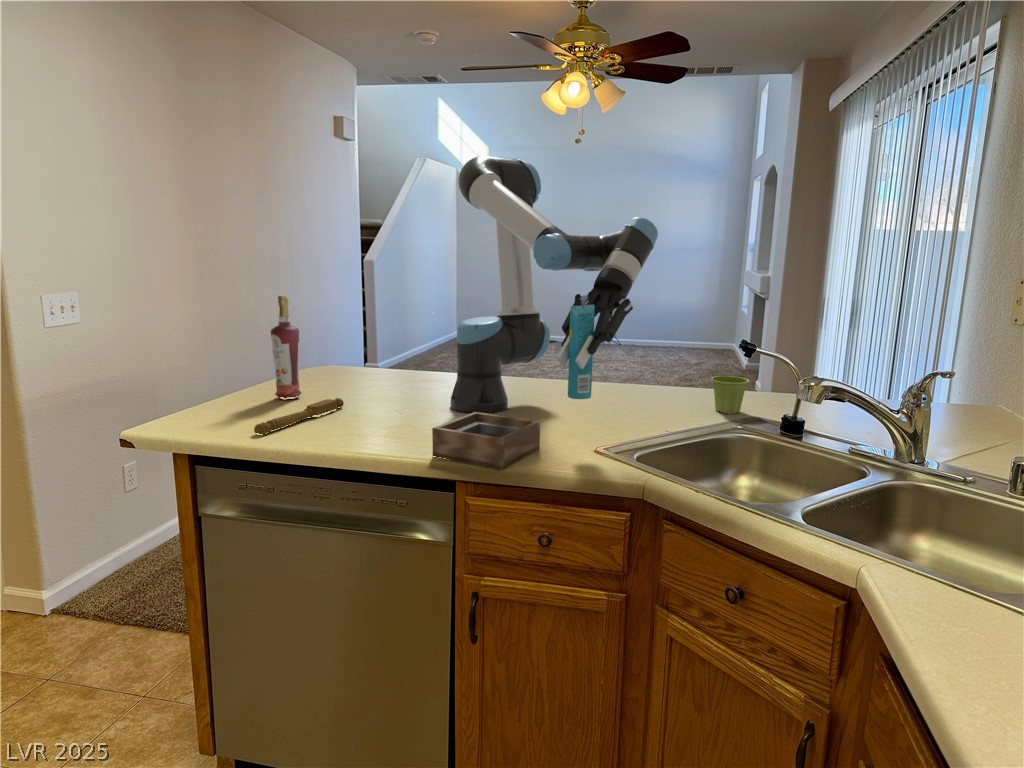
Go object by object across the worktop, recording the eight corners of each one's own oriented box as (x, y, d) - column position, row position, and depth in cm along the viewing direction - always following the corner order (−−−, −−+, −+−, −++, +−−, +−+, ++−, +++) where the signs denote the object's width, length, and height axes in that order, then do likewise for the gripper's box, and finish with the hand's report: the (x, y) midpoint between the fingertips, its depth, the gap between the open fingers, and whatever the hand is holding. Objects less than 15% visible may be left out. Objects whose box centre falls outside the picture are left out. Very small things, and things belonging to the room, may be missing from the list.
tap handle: (252, 423, 150) (336, 396, 177) (253, 436, 151) (336, 407, 178) (263, 424, 149) (345, 397, 176) (264, 438, 150) (346, 408, 177)
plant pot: (748, 416, 172) (751, 383, 171) (710, 414, 174) (712, 381, 173) (744, 408, 181) (746, 376, 180) (707, 406, 183) (709, 375, 182)
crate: (432, 456, 136) (432, 428, 135) (475, 438, 150) (475, 411, 149) (501, 470, 129) (501, 439, 128) (539, 449, 143) (540, 421, 141)
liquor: (308, 397, 188) (303, 296, 182) (286, 402, 182) (280, 297, 176) (290, 394, 192) (285, 294, 186) (268, 398, 186) (262, 296, 180)
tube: (579, 392, 146) (583, 303, 142) (598, 396, 143) (603, 305, 139) (559, 398, 140) (562, 305, 136) (578, 402, 137) (582, 307, 133)
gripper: (657, 292, 143) (612, 380, 134) (589, 286, 154) (543, 368, 145) (647, 267, 138) (599, 357, 129) (577, 263, 148) (529, 346, 139)
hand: (570, 363), depth 137 cm, fingers closed on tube, 4 cm apart
